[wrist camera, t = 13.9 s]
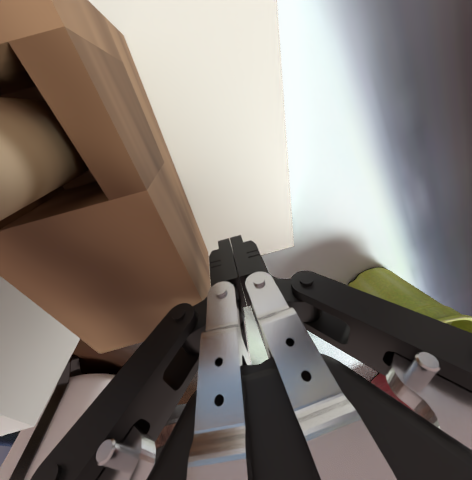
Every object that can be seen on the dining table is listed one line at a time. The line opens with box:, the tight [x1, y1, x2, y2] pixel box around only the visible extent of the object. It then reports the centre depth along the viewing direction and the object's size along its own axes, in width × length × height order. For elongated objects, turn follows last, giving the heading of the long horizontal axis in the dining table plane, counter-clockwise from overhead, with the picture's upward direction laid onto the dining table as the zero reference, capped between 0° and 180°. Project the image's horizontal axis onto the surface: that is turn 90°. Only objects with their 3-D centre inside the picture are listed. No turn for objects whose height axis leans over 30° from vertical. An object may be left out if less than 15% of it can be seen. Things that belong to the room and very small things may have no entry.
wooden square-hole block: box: [0, 0, 211, 354], centre depth 11 cm, size 7×14×7 cm, turn 13°
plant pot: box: [348, 268, 472, 333], centre depth 23 cm, size 9×9×9 cm
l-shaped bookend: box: [0, 0, 294, 436], centre depth 11 cm, size 21×18×10 cm
